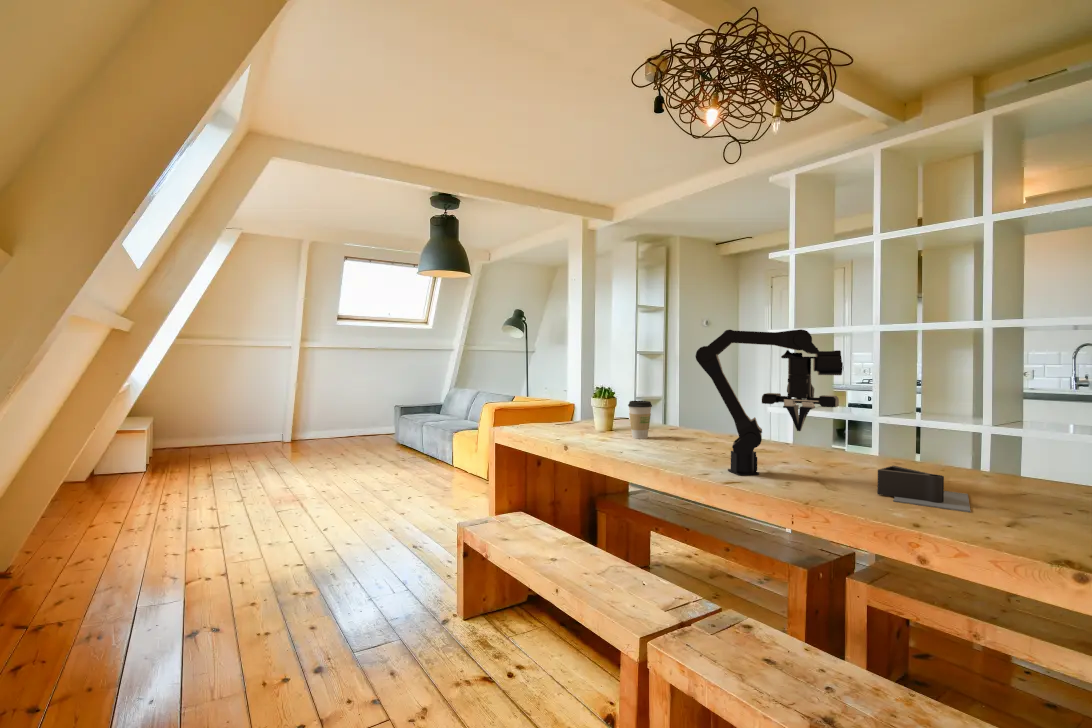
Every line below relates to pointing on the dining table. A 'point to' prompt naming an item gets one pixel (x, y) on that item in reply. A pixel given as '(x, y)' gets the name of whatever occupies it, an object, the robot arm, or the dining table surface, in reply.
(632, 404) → the coffee cup
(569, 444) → the dining table surface
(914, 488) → the dark tent sign
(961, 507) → the mat
